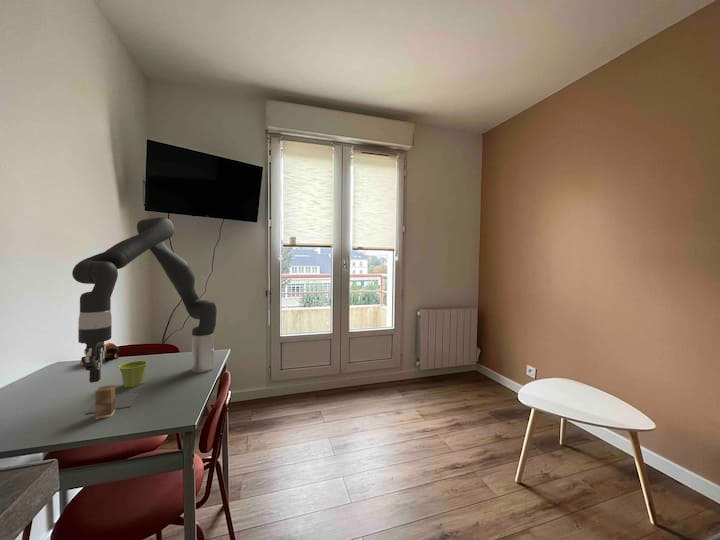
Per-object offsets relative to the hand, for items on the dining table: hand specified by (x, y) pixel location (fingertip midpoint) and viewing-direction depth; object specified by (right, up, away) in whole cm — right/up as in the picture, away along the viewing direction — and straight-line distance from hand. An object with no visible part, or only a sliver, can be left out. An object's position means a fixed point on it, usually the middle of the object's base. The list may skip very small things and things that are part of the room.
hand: (95, 381), depth 88 cm
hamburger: (-48, -13, +55) cm, 74 cm away
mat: (-7, -14, +15) cm, 21 cm away
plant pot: (-12, -14, +30) cm, 35 cm away
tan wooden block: (-3, -14, +7) cm, 16 cm away
